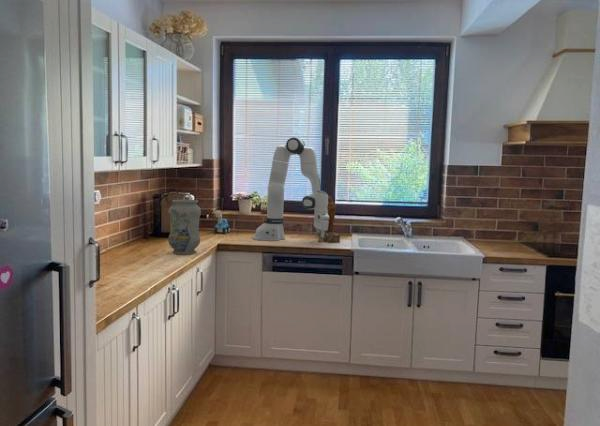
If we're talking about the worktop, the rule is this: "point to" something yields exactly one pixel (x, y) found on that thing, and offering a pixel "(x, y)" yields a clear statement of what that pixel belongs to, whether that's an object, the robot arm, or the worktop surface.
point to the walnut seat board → (331, 237)
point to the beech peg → (319, 236)
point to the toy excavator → (221, 224)
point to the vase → (184, 226)
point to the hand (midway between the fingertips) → (320, 235)
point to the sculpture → (331, 214)
